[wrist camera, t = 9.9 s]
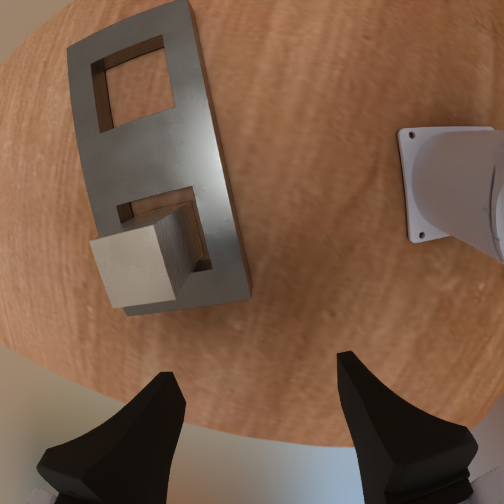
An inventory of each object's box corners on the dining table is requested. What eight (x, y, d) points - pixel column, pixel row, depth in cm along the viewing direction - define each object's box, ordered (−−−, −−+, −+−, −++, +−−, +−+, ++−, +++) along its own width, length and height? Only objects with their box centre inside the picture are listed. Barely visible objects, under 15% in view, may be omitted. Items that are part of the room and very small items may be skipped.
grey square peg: (190, 200, 19) (153, 224, 13) (203, 252, 20) (175, 299, 14) (142, 213, 20) (89, 241, 13) (156, 261, 21) (112, 308, 14)
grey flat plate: (193, 9, 15) (186, -3, 13) (252, 286, 21) (251, 299, 19) (80, 54, 16) (66, 48, 14) (137, 303, 22) (127, 316, 20)
